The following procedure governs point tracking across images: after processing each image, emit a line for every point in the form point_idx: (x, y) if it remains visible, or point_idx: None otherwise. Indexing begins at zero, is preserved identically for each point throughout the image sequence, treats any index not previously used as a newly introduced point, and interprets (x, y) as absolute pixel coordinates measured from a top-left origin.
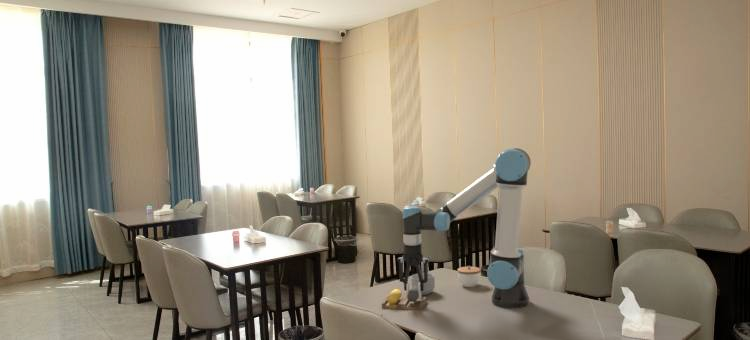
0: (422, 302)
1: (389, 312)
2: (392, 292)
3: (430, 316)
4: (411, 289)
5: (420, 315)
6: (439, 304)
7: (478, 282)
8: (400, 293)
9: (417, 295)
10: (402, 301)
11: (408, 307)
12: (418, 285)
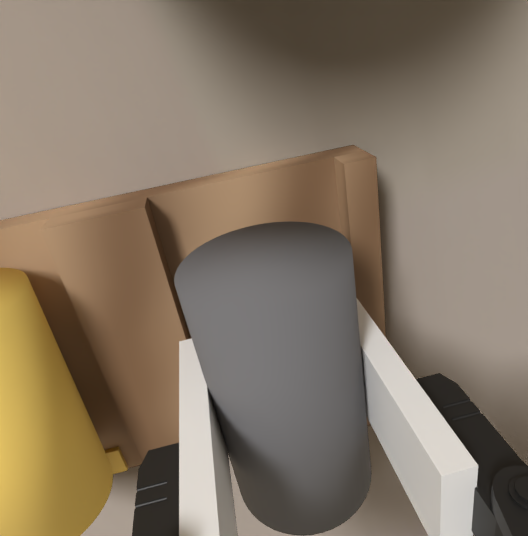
0: None
1: (131, 525)
2: None
3: None
4: (261, 447)
5: (389, 481)
6: (510, 193)
7: None
8: (31, 347)
9: (370, 467)
10: (154, 411)
11: None
12: (430, 531)
